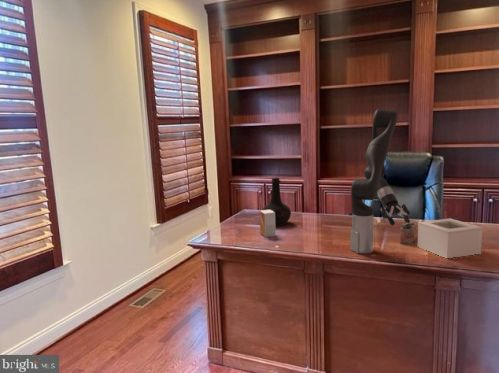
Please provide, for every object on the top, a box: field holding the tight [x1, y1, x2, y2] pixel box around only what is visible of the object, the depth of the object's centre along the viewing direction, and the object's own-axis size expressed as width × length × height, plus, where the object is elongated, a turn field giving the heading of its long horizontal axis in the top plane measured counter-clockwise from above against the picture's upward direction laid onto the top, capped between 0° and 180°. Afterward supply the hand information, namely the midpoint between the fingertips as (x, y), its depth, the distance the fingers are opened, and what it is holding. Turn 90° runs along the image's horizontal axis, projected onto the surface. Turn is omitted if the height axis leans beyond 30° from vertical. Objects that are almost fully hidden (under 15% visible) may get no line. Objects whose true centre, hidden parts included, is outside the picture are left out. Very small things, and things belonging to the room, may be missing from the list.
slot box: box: [417, 217, 484, 259], centre depth 171 cm, size 18×18×12 cm
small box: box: [259, 209, 277, 238], centre depth 207 cm, size 8×6×13 cm
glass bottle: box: [261, 177, 292, 227], centre depth 228 cm, size 18×18×28 cm
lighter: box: [399, 222, 417, 245], centre depth 184 cm, size 8×3×10 cm, turn 105°
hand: (401, 223), depth 189 cm, fingers open, 8 cm apart
